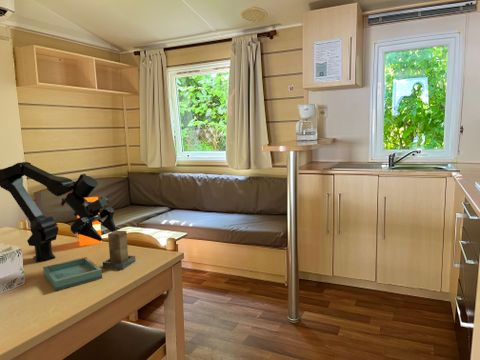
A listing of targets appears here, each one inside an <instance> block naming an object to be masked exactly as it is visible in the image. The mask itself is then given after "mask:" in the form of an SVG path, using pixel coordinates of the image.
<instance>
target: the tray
mask: <svg viewBox="0 0 480 360" xmlns="http://www.w3.org/2000/svg"><path fill="white" fill-rule="evenodd" d="M42 269H43V270H42V271H43V276H44V278H45V279H46V280H47V281H48V283H49V284H50V285H51V287H52V288H53V290H54V291H55V292H58V291H61V290H65V289H68V288H73V287H75V286H78V285H79V286H80V285H83V284H87V283H89V282H93V281H97V280H101V279H103V270H102V268H100V267H99V266H98V265H97V264H95V262H94V261H92V260H91V259H90V258H88V257H87V256H85V257H81V258H75V259H72V260H67V261H63V262H60V263H59V262H58V263H55V264H51V265H46V266H43V267H42Z"/></svg>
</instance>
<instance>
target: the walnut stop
mask: <svg viewBox="0 0 480 360" xmlns="http://www.w3.org/2000/svg"><path fill="white" fill-rule="evenodd" d="M107 239H108V249H109V250H108V251H109V258H110V262H116V263H123V262H124V261H126V260H128V255H129V250H128V235H127V230H118V229H117V230H115V231H113V232H112V231H110V232H109V233H107Z"/></svg>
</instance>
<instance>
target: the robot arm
mask: <svg viewBox="0 0 480 360" xmlns="http://www.w3.org/2000/svg"><path fill="white" fill-rule="evenodd" d="M24 176H25V177H27V178H29V179H31V180H33V181H35V182H36V183H39V184H41V185H43V186H45V187H46V189H47V191H49V192H50V193H51V194H52V195H54V196H56V197H61V196H65V195H66V196H65V197H63V198H61V202H60V204H61V205H60V206H61V207H64V206H66V205H68V206H69V207H70V209H71V210H72V211H73V212H74V213H73V215H74V217H76V219H75V220H74V222H73V223H72V224H71V226H70V227H69V228H70V231H71V232H72V234H73V235H76V234H77V235H78V236H79V235H84V236H87V237H90V238H93V239H95V240H98V241H101V240H102V241H103V237H102V235H101V236H100V235H99V234H98V232H97V231H96V230H95V229H94V228H93V224H92V223H93V222H95V221H99V222H100V225H101V226H103V227H104V228H105V229H107V230H108V231H110V232H113V231H115V230H117V231H118V229H117V227H116V224H115V222H114V218H113V217H114V215H115V212H116V211H115V209H114V208H113V207H108V206H109V202H110V201H109V198H108V197H106V196H105V195H102V196H100V197H98V200H96V201H94V202H92V201H90V202H88V201H87V200H86V199H85V198H89V197H90V196H91V194H92V193H93V192H94V190H95V189H96V188H97V186H98V185H99V183H98V181H97V180H96V178H93V177H92V176H90V175H87V174H86V173H81V174H80V175H79V177H78V178H77V179H76V181H74V180H72V179H71V178H68V177H64V176H57V175H53V174H52V173H50V172H48V171H45V170H44V169H41V168H40V167H37V166H35V165H33V164H32V163H31V162H28V161H23V162H22V161H21V162H17V163H14V164H13V165H10V166H8V167H7V166H6V167H5V168H0V188H1V189H3V190H5V191H7V192H8V193H10V195H11V196H12V197H13V199H14V200H15V202H16V204H17V205H18V206H19V207H20V210H21V211H22V212H23V214H24V215H25V216H26V218H27V219H28V221H29V223H30V227H29V228H30V229H29V230H30V232H31V234H30V237H29V238H28V239H27V240H26V241H27V244H28V246H29V247H30V246H31V247H34V252H35V253H34V254H35V256H32V257H33V259H34V261H36V263H37V262H42V261H47V260H52V259H55V258H56V256H55V254H53V247H52V246H53V245H52V242H54V241H56V240H57V237H58V233H59V227H58V225H59V224H58V223H57V222H56V221H55V219H54V217H53V216H51V215H50V216H45V215H44V214H43V212H42V211H41V210H40V208H39V207H38V205H37V204H36V202H35V201H34V199H33V198H32V197H31V195H30V194H29V192H28V191H27V189H26V188H25V186H24ZM103 208H104V209H103ZM98 213H99V214H98ZM77 216H79V217H80V218H77ZM95 218H96V219H95Z"/></svg>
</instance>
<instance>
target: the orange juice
mask: <svg viewBox="0 0 480 360" xmlns="http://www.w3.org/2000/svg"><path fill="white" fill-rule="evenodd" d="M84 198H85V199H86V200H87V201H88V202H90V201H92V202H94V201H96V200H98V199H99V197H98V196H91V197H90V196H88V197H84ZM98 214H100V212H99V213H98ZM77 218H80V217H79V216H76V219H77ZM95 219H96V218H95ZM92 224H93V228H94V229H95V230H96V231H97V232H98V234H99V235H100V236H101V237H102V229H101V226H102V225H101V223H100V222H99V221H95V222H93V223H92ZM78 239H79V240H78V241H79V247H83V246H90V245H99V244H102V243H103V242H102V241H103V239H102V240H101V241H98V240H95V239H93V238H90V237H87V236H84V235H78Z"/></svg>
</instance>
